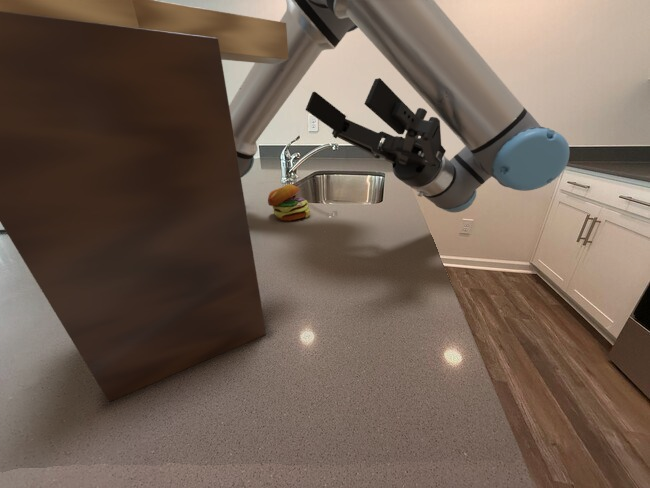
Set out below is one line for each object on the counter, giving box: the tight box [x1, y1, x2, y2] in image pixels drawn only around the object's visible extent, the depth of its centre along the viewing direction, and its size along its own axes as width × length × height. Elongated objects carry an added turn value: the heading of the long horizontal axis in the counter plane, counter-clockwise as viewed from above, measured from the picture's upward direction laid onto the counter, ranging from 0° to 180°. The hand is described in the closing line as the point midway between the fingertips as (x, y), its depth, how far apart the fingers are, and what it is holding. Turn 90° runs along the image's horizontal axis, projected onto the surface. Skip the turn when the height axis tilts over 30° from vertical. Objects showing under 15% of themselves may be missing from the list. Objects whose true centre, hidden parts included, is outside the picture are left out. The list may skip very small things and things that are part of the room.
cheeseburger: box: [267, 183, 311, 222], centre depth 71 cm, size 10×11×10 cm
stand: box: [0, 11, 267, 402], centre depth 27 cm, size 16×12×30 cm
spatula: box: [0, 0, 289, 65], centre depth 22 cm, size 22×11×3 cm, turn 122°
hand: (335, 96), depth 32 cm, fingers open, 13 cm apart
